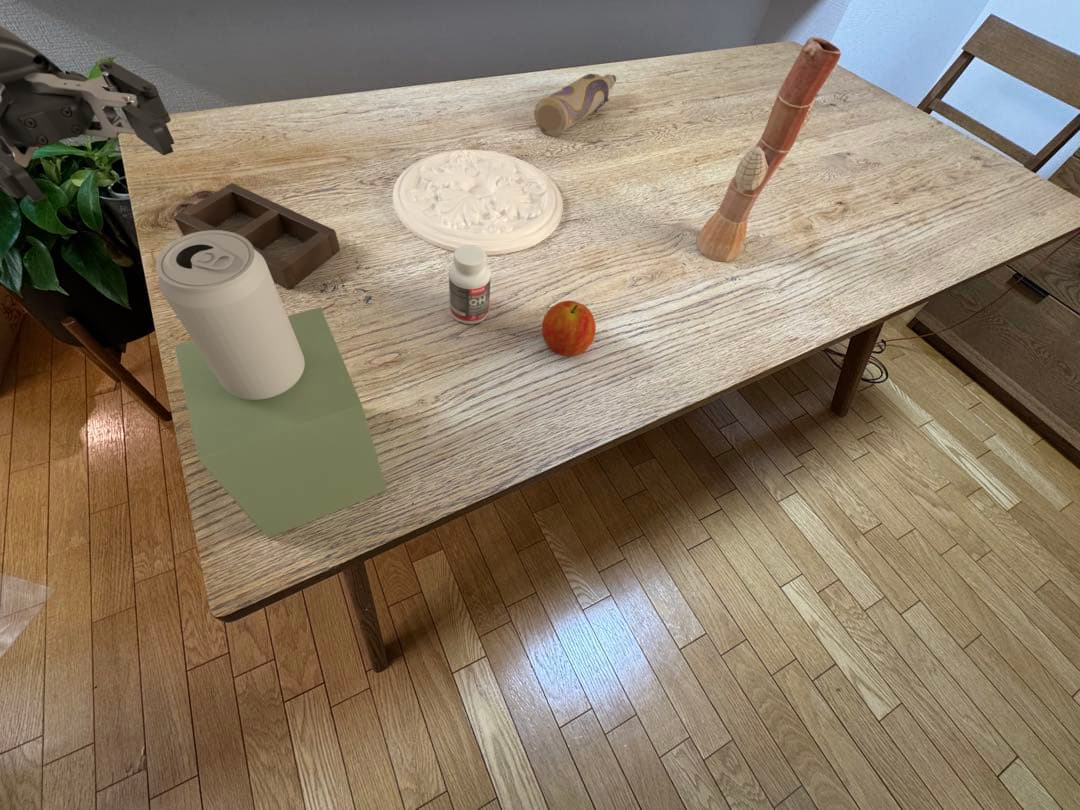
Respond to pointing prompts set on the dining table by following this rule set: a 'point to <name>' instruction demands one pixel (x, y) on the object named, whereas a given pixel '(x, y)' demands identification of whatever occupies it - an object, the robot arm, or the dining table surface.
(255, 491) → the stand
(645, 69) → the dining table surface
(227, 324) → the beverage can
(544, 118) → the decorative bottle
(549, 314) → the fruit
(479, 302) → the pill bottle
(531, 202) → the ceiling medallion
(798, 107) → the vase
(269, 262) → the tray
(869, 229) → the dining table surface
